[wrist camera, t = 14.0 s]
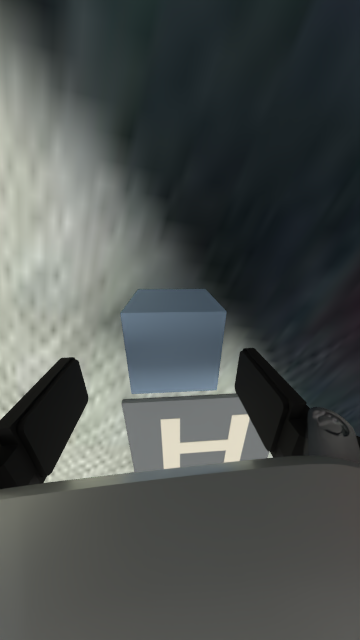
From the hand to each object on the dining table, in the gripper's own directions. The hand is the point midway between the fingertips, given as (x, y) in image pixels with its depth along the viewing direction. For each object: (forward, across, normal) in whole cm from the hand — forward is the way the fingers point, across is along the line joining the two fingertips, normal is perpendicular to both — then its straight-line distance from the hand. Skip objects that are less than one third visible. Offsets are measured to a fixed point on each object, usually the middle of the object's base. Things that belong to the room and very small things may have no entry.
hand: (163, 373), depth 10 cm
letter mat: (+7, -5, +18) cm, 20 cm away
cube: (+7, -1, -1) cm, 7 cm away
